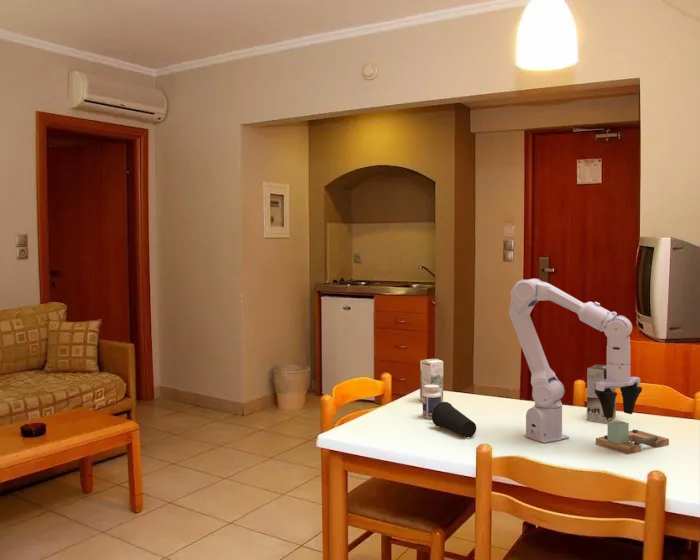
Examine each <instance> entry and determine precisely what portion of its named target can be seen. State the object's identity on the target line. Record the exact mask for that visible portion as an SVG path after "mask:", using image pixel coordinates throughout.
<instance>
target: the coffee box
mask: <svg viewBox="0 0 700 560" xmlns="http://www.w3.org/2000/svg"><path fill="white" fill-rule="evenodd" d="M586 372H587V373H586V374H587V375H586V421H588V422H595V423H596V422H597V423H602V424H608V422H609V421H613V420H614V419H615V418H616V417H617V416H616V413H617V412H616V411H617V410H616V409H617V403H616V402H617V397H616V398H615V402H614V409H613V417H612V418H608V417H604V414H603V410H602V406H601V403H600V401H599V399H598V397H597V395H596V393H595V389H596V382H600V381H603V380H605V379H607V364H594V365H592V366H590V367H587V371H586ZM611 390H612V392H616V391H617V388H613V389H611ZM616 393H617V392H616ZM613 418H614V419H613ZM612 419H613V420H612Z"/></svg>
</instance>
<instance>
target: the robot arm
mask: <svg viewBox="0 0 700 560" xmlns="http://www.w3.org/2000/svg"><path fill="white" fill-rule="evenodd" d="M509 292H510V304H509V311H508V315H509V318H510V320H511V323H512V326H513V329H514V331H515V333H516V337H517V339H518V342H519V345H520V347H521V349H522V352H523V355H524V357H525V360H526V363H527V365H528V369H529V371H530V373H531V377H530V384H531V386H532V391H531V392H532V393H531V394H532V396H531V397H532V400H533V402H534V405H533V406H532V407H530V408H528V410H527V411H526V414H525V433H524V434H523V437H526V438H528V439H531V440H535V441H537V442H540V443H544V444H546V443H551V442H556V441H560V440H561V441H562V440H566V439H569V438H570V436H569V435H567V434H563V403H562V401H561V399H562V398H563V396H564V394H565V387H564V384H563V383H562V382H561V381H560V380H559V378H558V377H557V376H556V373H555V371H554V370H553V369H552V368H551V367H550V365H549V362H548V360H547V357H546V355H545V351H544V349H543V347H542V343H541V341H540V338H539V335H538V333H537V331H536V328H535V326H534V323H533V320H532V317H531V313H532V310H533V309H534V307H535V306H536V304H538V302H539V301H541V302H542V301H543V302H545V301H550V302H553V303H554V304H556V305H559V306H561V307H562V308H565V309H567V310H569V311H571V312H574V313H576V314H577V316H578V319H579V321H581V322H582V323H584V324H587V326H590V327H592V328H593V329H596V330H597V331H599V332H602V333H603V332H604V335H605V336H606V337H607V339H606V344H607V345H606V365H607V379H605V380H603V381H600V382H596V389H595V393H596V395H597V397H598V399H599V401H600V403H601V406H602V410H603V414H604V417H608V418H612V417H613V409H614V402H615V398H616V399H617V395H618V392H612V390H611V389H613V388H616V389H619V390H620V392H621V396H622V407H623V408H622V409H623V413H624V414H629V415H632V414H634V413H633V412H634V409H635V405H636V402H637V400H638V397H639V396H640V394H641V392H642V391H643V387H642V386H641V377H638V376H631V337H630V335H631V333H632V331H633V324H632V321H630V319H628V318H627V317H626V316H625V315H618V313H617V312H616V311H610V310H608V309H606V308H604V307H603V306H601V303H599V302H597V301H594V302H593V301H587V302H582V301H580V300H579V299H577V298H575V297H574V296H572V295H571V294H569V293H566V292H565V291H563V290H561V289H560V288H558V287H556V286H554V285H552V284H551V283H549V282H546V281H543V280H541V279H539V278H530V279H520V280H519V281H517V282H516V283H515V284H514V286H513V287H512V289H511V290H510V291H509Z"/></svg>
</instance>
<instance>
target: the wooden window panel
mask: <svg viewBox="0 0 700 560" xmlns="http://www.w3.org/2000/svg"><path fill="white" fill-rule="evenodd" d="M607 439H608V434H605V435H604V436H599V437H595V445H597V446H601V447H603V446H604V448H607V449H610V450H613V451H616V450H617V452H619V451H620V453H622V452H623V454H626V455H630V454H635V453H639V452H642V445H643V444H644V445H647V446H649V445H650V447H653V448H660V447H665V446H669V445H670V438H668V437H664V436H661V435H657V434H653V433H649V432H646V431H642V430H638V429H631V430H629V441H630V442H627V443H623V444H617V443H613V442H610V441H607Z"/></svg>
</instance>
